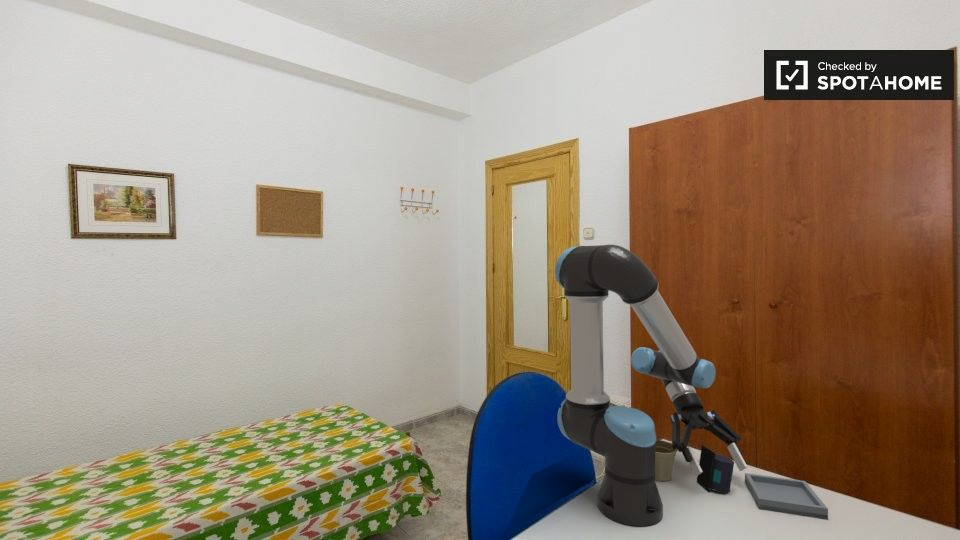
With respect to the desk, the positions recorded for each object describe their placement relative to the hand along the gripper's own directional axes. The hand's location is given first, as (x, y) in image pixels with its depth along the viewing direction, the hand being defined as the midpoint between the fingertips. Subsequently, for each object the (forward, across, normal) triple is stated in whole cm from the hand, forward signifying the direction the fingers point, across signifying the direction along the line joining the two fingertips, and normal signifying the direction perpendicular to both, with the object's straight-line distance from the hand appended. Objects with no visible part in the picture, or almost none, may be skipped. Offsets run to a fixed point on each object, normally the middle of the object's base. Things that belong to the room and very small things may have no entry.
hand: (721, 471), depth 116 cm
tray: (+8, -12, +1) cm, 15 cm away
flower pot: (-4, +11, -11) cm, 16 cm away
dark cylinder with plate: (+3, 0, -5) cm, 5 cm away
